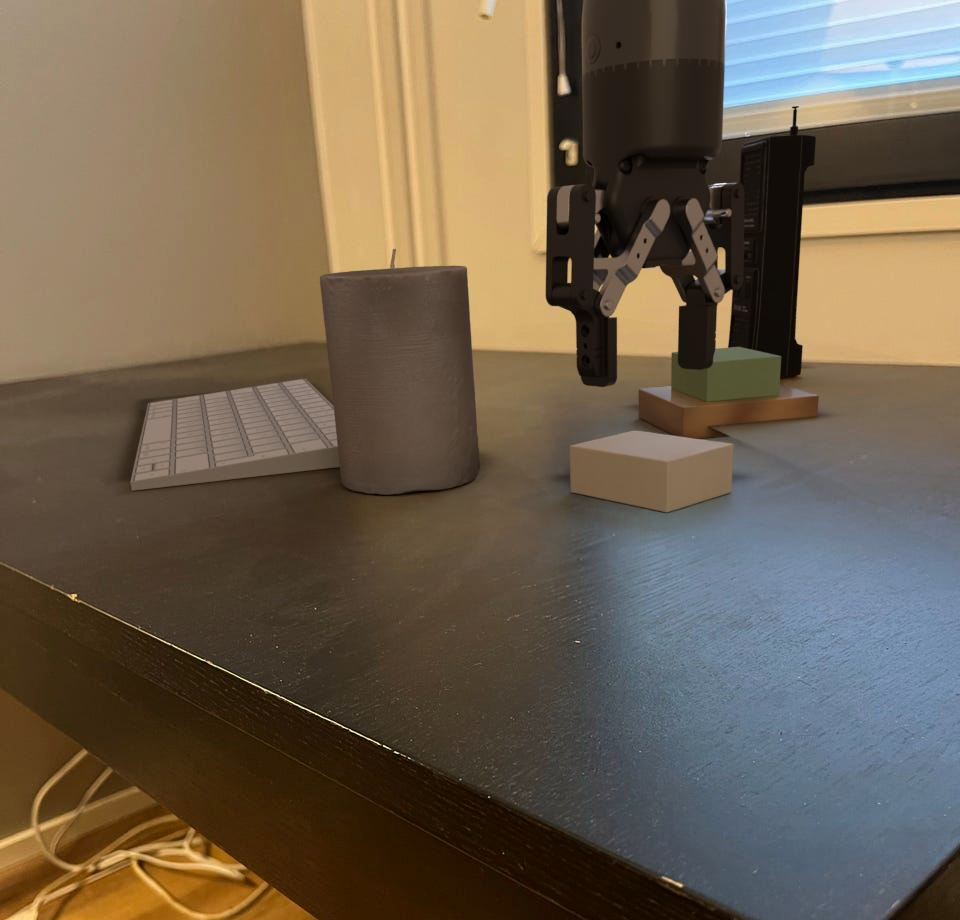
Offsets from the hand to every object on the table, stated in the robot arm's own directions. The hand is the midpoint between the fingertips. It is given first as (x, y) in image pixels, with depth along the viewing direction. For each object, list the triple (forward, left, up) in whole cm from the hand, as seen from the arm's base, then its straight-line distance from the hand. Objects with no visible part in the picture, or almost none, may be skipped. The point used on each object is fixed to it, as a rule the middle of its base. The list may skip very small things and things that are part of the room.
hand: (649, 376), depth 58 cm
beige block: (0, 0, -7) cm, 7 cm away
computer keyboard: (+27, -37, -7) cm, 47 cm away
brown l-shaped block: (-13, -20, -7) cm, 25 cm away
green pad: (-13, -20, -5) cm, 24 cm away
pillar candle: (+14, -10, -7) cm, 19 cm away
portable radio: (-27, -44, -7) cm, 52 cm away
